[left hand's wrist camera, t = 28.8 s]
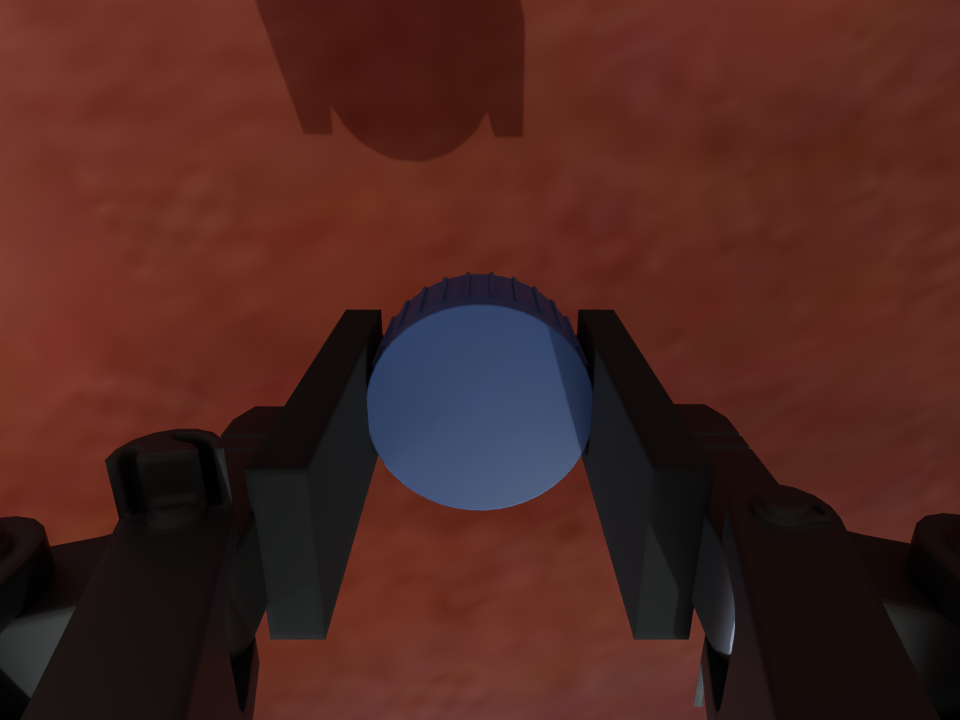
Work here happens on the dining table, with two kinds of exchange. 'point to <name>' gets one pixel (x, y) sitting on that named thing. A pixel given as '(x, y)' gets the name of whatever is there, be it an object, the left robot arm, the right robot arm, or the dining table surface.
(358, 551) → the dining table surface
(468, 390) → the cap
